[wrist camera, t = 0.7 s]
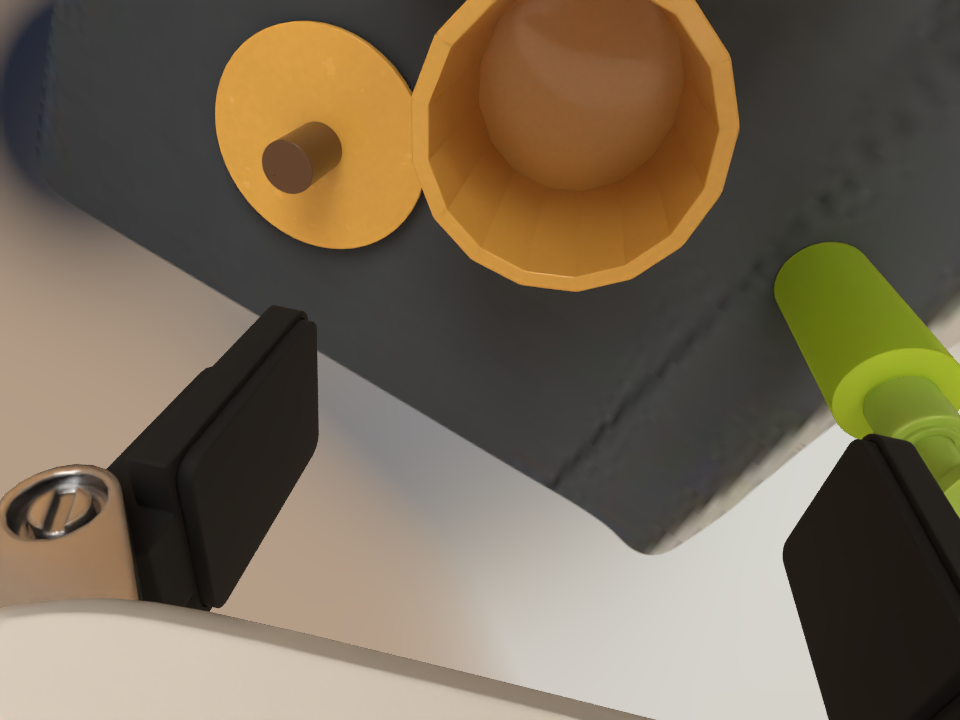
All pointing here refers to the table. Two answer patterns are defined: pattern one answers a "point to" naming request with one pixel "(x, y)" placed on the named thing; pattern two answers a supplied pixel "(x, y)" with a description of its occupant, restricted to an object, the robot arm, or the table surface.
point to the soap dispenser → (873, 356)
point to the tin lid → (318, 134)
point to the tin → (573, 134)
